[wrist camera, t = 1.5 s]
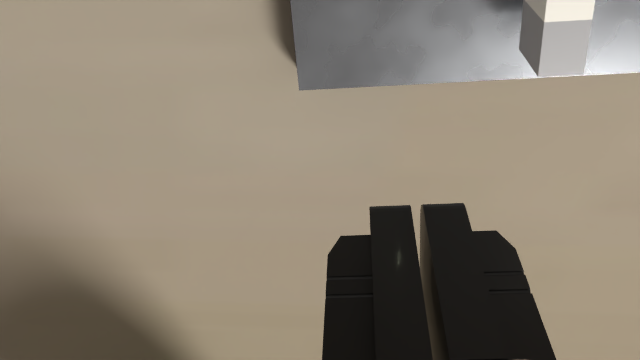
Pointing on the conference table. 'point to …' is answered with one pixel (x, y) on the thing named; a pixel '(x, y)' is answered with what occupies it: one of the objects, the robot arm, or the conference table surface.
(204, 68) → the conference table surface
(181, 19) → the conference table surface
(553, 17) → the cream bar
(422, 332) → the robot arm
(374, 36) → the levelling base
